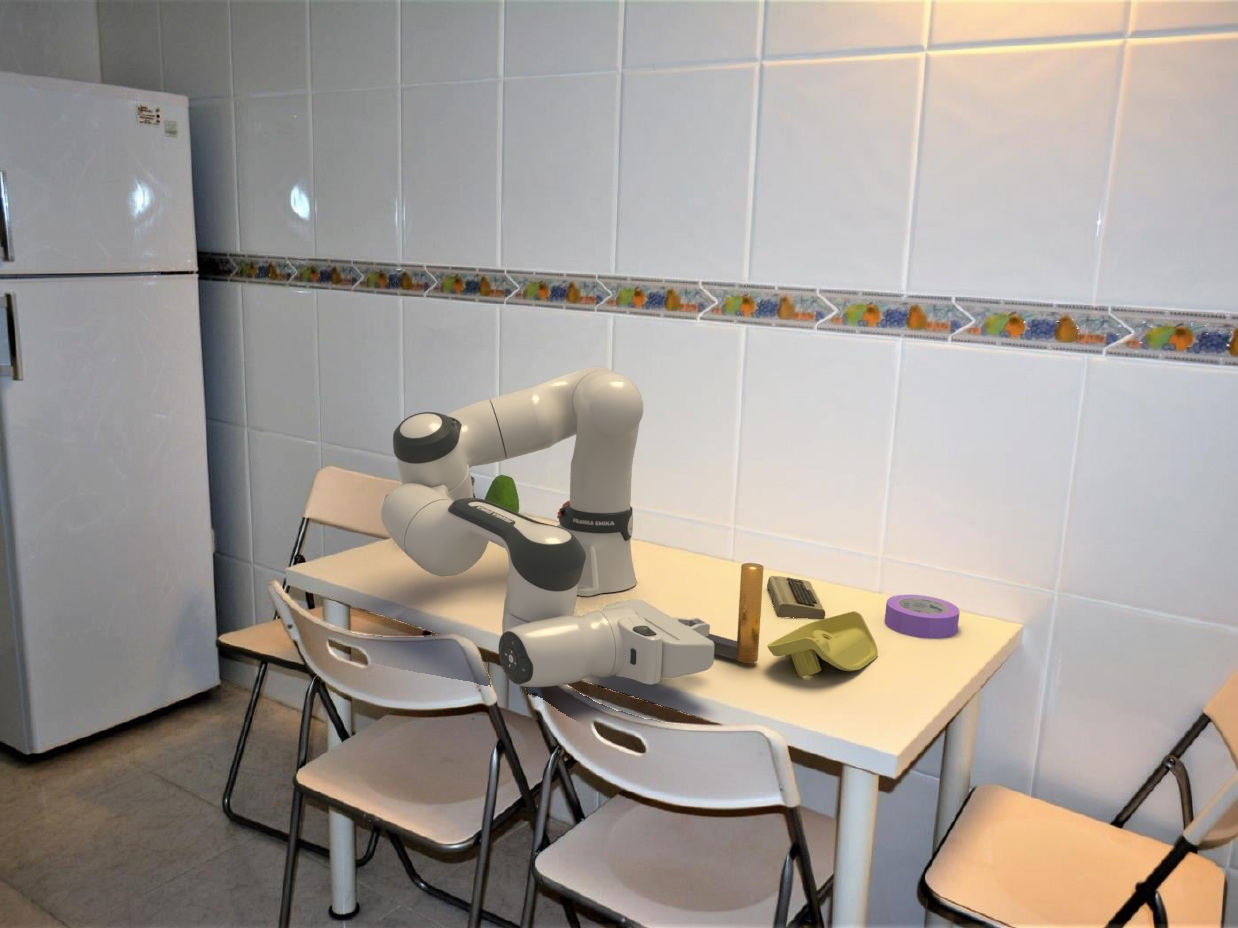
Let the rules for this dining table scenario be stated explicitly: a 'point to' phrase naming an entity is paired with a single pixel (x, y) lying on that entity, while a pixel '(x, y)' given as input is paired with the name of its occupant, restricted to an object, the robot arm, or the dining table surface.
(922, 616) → the masking tape
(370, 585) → the dining table surface
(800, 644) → the plastic component
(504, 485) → the avocado
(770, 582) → the computer
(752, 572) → the crank handle
